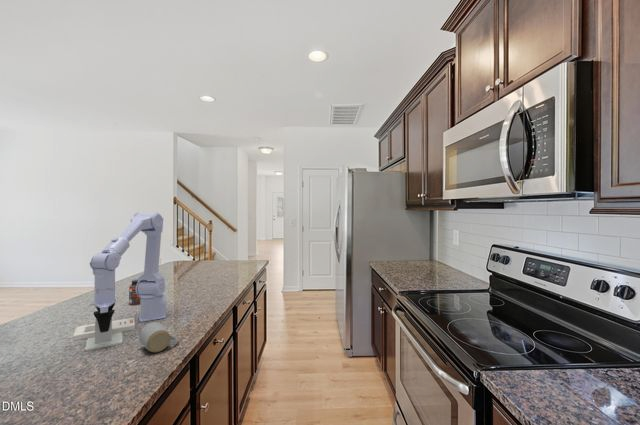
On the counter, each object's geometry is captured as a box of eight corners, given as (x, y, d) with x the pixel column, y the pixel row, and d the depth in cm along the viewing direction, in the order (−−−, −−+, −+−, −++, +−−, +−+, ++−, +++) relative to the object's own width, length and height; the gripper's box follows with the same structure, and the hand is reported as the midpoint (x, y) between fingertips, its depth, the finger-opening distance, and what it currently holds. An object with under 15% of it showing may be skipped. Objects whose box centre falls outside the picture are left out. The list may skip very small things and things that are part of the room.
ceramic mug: (146, 357, 92) (147, 332, 92) (138, 348, 97) (139, 324, 97) (182, 346, 99) (182, 323, 99) (172, 339, 105) (173, 317, 105)
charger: (111, 336, 105) (111, 316, 105) (111, 340, 102) (111, 319, 102) (95, 339, 102) (95, 319, 102) (95, 343, 99) (95, 322, 99)
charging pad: (122, 333, 109) (122, 331, 109) (122, 343, 101) (122, 341, 101) (87, 340, 104) (87, 338, 104) (84, 351, 95) (84, 349, 95)
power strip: (133, 321, 121) (133, 316, 121) (134, 329, 113) (134, 323, 113) (76, 331, 111) (76, 325, 111) (73, 340, 103) (73, 334, 103)
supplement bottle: (130, 306, 141) (130, 282, 141) (127, 303, 145) (128, 280, 145) (144, 303, 145) (144, 280, 145) (142, 301, 149) (142, 278, 149)
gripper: (91, 285, 106) (91, 323, 106) (88, 294, 94) (88, 338, 94) (116, 282, 110) (115, 319, 110) (115, 291, 98) (115, 333, 98)
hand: (104, 327), depth 102 cm, fingers open, 7 cm apart
